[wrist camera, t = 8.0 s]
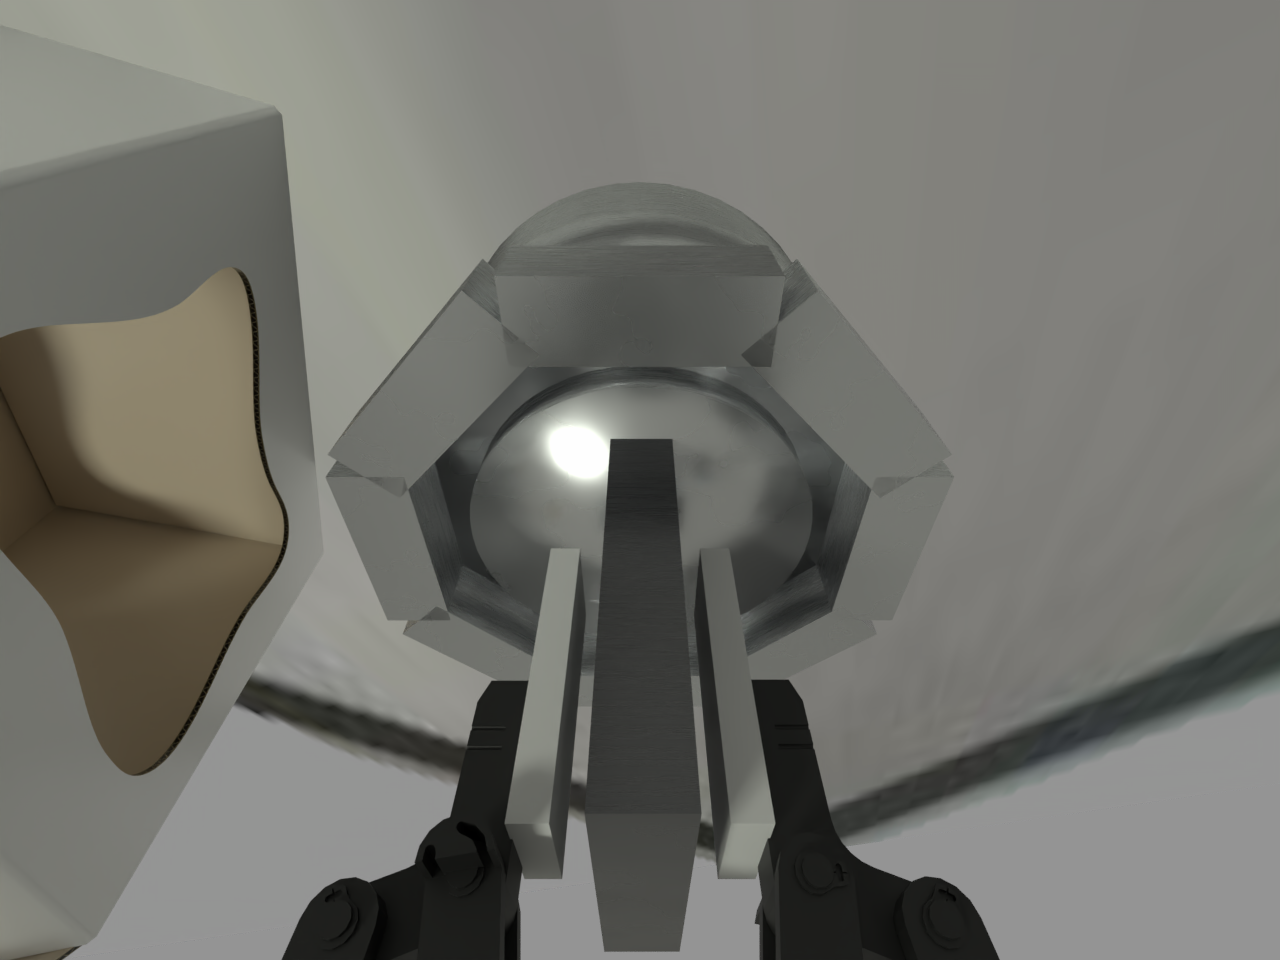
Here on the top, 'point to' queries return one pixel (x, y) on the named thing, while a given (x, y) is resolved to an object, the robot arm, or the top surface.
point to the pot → (638, 337)
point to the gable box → (134, 459)
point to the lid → (641, 589)
